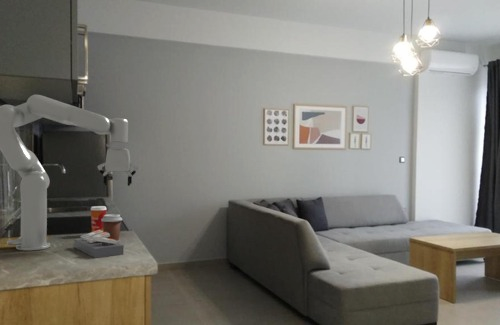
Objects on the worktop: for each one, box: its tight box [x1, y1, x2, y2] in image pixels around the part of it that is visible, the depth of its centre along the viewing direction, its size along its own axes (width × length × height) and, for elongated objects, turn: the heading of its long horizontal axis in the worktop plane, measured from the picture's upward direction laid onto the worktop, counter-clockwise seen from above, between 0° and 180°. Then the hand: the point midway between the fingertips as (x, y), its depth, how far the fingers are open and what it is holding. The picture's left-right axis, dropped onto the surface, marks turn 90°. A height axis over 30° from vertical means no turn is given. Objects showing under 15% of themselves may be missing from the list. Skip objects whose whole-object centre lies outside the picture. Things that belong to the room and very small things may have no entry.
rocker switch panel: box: [73, 238, 125, 259], centre depth 168 cm, size 11×24×4 cm, turn 40°
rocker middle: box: [86, 232, 110, 243], centre depth 168 cm, size 8×4×1 cm, turn 131°
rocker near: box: [93, 236, 118, 244], centre depth 162 cm, size 8×4×1 cm, turn 130°
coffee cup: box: [101, 213, 123, 243], centre depth 188 cm, size 9×9×12 cm
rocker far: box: [80, 230, 103, 240], centre depth 173 cm, size 8×4×1 cm, turn 131°
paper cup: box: [90, 205, 107, 232], centre depth 203 cm, size 8×8×14 cm
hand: (117, 185), depth 183 cm, fingers open, 9 cm apart
